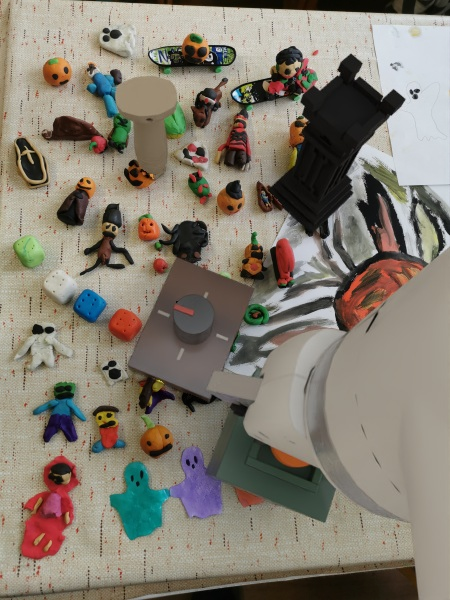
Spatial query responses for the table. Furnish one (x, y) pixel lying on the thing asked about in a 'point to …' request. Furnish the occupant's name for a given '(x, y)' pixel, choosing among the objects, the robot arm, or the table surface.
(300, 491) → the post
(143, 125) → the handle
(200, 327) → the knob
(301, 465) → the button
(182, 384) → the panel
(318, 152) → the chess piece
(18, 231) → the table surface
